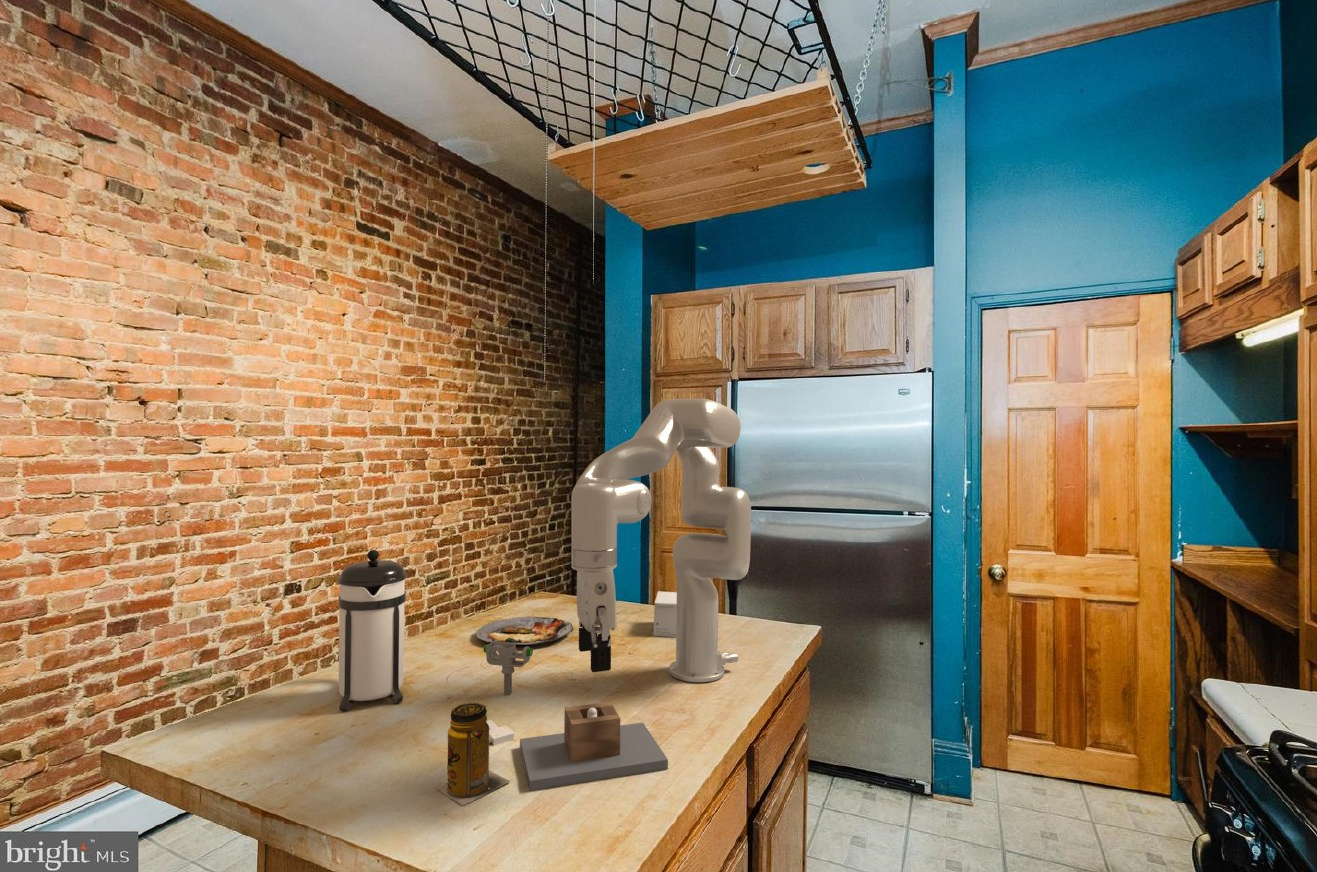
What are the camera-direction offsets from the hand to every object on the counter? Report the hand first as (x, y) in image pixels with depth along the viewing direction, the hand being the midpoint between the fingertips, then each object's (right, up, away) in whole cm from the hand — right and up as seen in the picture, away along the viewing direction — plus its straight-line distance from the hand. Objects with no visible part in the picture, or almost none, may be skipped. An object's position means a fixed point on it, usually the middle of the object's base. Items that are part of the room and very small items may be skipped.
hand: (594, 660), depth 107 cm
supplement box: (+18, -17, +71) cm, 75 cm away
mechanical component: (-20, -16, +26) cm, 37 cm away
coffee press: (-48, -16, +24) cm, 56 cm away
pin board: (0, -16, 0) cm, 16 cm away
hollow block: (0, -15, 0) cm, 15 cm away
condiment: (-17, -16, -9) cm, 26 cm away
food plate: (-25, -17, +64) cm, 71 cm away
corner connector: (-20, -17, +7) cm, 27 cm away
